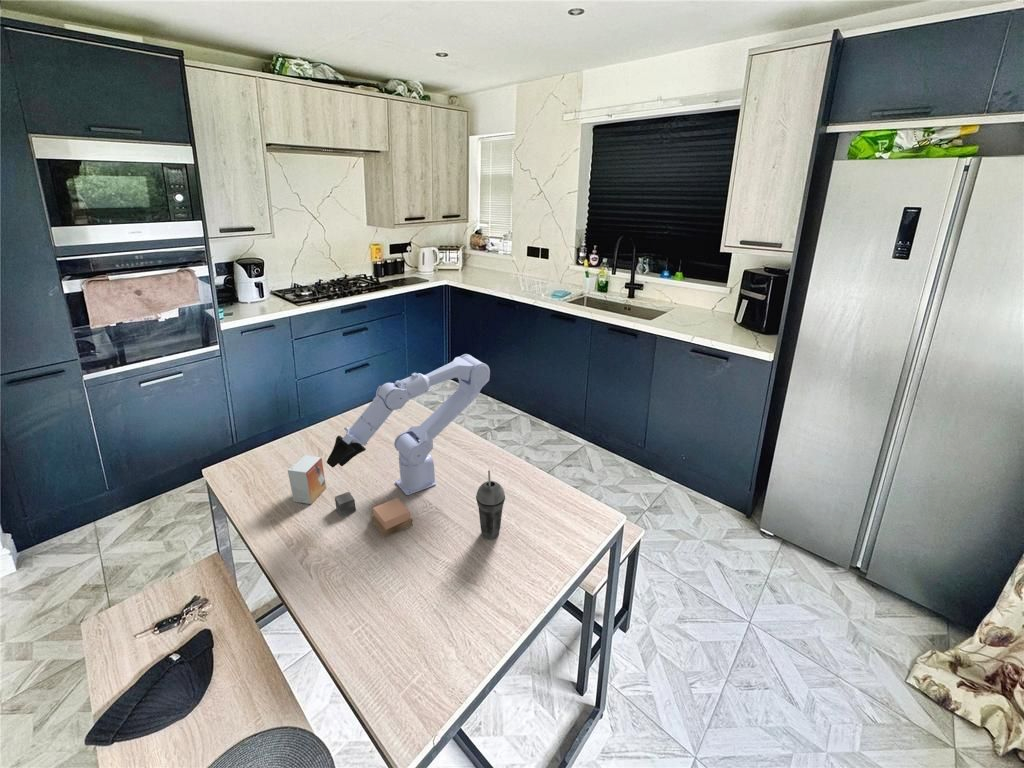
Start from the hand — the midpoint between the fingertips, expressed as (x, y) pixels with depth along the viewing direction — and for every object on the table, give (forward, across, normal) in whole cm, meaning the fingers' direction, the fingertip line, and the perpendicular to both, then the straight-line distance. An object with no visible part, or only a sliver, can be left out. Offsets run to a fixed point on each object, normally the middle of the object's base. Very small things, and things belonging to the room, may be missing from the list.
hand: (334, 464), depth 127 cm
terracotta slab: (+2, -3, +20) cm, 20 cm away
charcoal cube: (+9, -9, +9) cm, 15 cm away
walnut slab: (+4, -4, +21) cm, 22 cm away
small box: (+14, -14, -3) cm, 20 cm away
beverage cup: (-11, 0, +43) cm, 44 cm away
